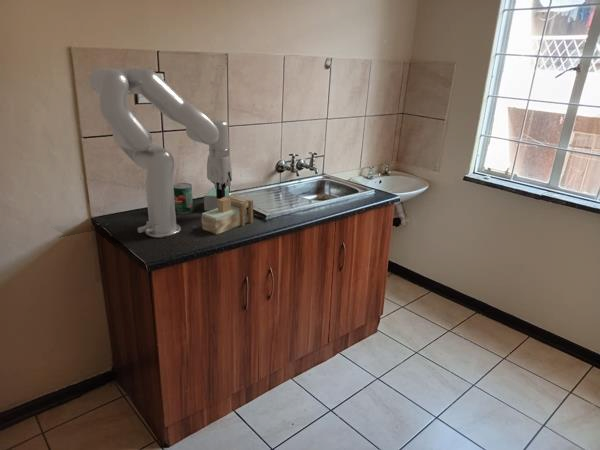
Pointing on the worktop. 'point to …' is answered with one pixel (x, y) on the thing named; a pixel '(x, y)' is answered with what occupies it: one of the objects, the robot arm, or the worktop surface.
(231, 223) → the toolbox
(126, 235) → the worktop surface
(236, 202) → the tan wooden block
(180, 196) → the canned tomato
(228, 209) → the lid
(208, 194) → the box
